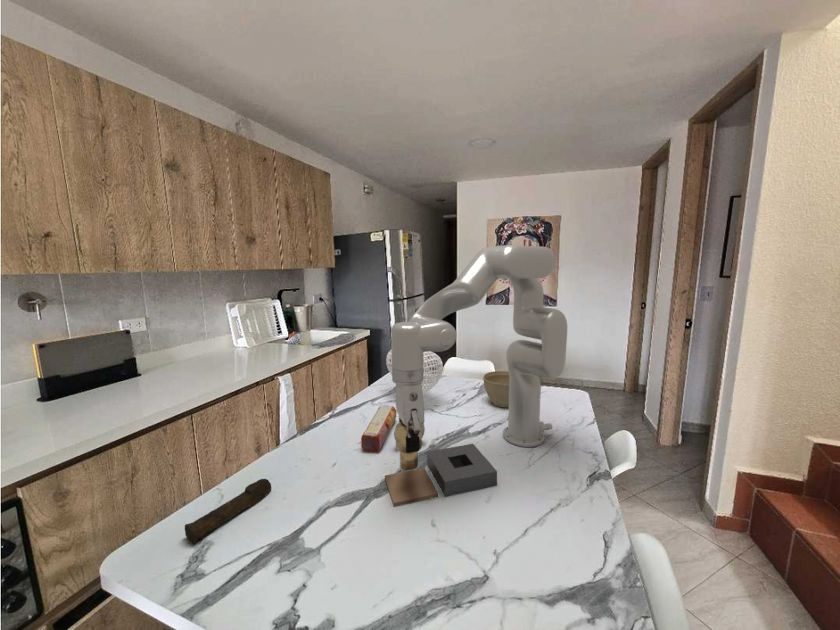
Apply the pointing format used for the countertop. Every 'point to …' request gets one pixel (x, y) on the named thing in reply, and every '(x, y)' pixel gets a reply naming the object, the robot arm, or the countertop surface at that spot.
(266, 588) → the countertop surface
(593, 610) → the countertop surface
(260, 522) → the countertop surface
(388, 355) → the heart
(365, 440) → the snack package
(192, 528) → the hand tool
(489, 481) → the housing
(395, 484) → the board
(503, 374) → the planter bowl
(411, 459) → the end cover
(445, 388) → the countertop surface
